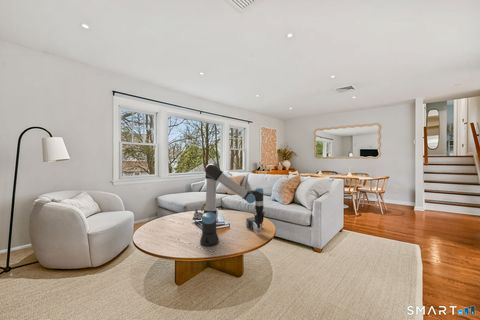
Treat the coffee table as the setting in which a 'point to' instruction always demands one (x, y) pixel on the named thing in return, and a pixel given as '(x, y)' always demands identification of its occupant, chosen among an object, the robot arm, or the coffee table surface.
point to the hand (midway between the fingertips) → (259, 230)
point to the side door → (255, 228)
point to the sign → (198, 216)
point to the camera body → (251, 223)
